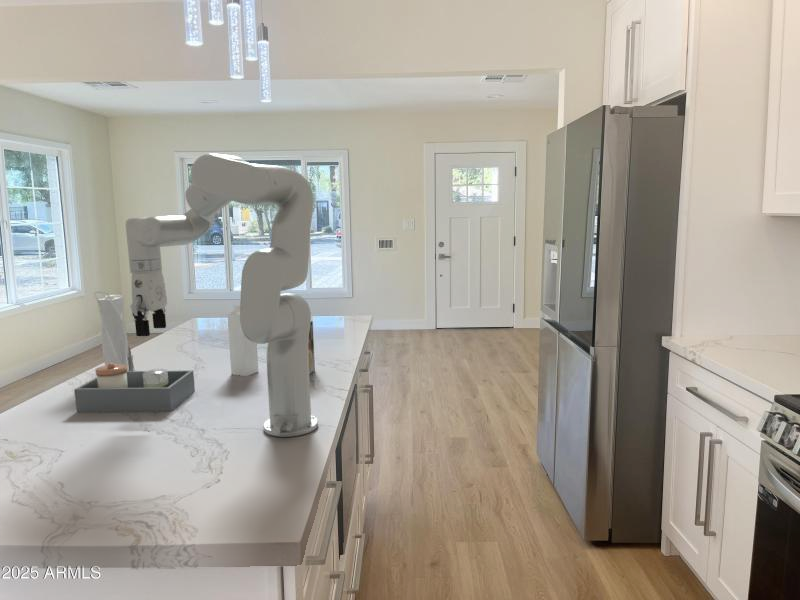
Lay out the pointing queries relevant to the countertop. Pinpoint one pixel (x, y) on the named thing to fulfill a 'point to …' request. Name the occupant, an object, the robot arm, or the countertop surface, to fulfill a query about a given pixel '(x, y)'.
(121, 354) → the skyscraper
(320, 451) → the countertop surface
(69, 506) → the countertop surface
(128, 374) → the tote
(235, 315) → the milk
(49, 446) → the countertop surface
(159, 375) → the grey green cylinder
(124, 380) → the lidded jar
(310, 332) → the coffee box
